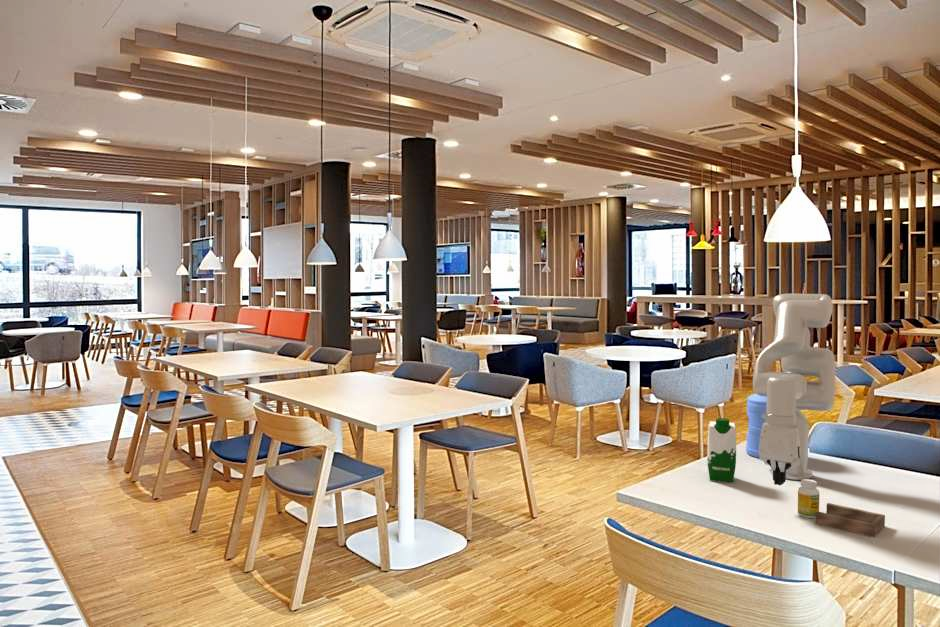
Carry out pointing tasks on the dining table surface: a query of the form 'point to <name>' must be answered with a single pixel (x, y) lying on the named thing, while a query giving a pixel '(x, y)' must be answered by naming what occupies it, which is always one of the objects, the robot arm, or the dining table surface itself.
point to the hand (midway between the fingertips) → (779, 483)
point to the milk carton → (721, 450)
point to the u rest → (851, 519)
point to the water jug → (755, 422)
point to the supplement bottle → (808, 498)
